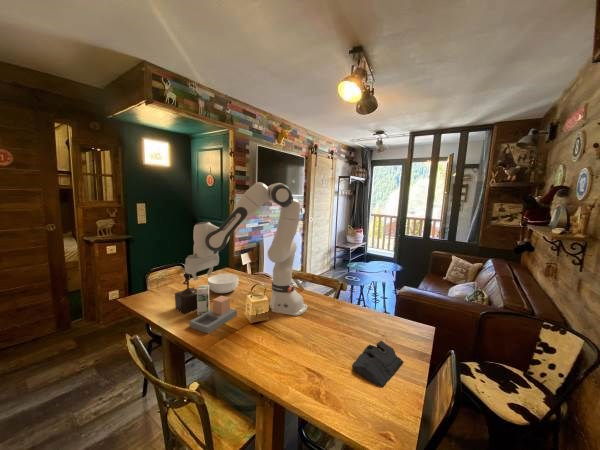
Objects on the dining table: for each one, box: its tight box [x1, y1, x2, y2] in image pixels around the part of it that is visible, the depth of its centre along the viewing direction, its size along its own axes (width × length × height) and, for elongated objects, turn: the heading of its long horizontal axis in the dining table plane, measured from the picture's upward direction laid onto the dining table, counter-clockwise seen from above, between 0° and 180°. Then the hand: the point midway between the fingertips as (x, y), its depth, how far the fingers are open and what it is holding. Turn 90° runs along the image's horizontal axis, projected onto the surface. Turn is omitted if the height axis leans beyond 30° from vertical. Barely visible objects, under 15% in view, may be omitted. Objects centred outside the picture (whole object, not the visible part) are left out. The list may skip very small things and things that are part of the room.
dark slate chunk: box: [351, 340, 405, 388], centre depth 97 cm, size 15×22×5 cm
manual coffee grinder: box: [174, 272, 197, 315], centre depth 138 cm, size 16×11×18 cm
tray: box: [189, 295, 238, 334], centre depth 124 cm, size 20×12×10 cm, turn 154°
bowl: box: [207, 273, 239, 294], centre depth 163 cm, size 20×20×8 cm
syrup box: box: [196, 284, 210, 316], centre depth 133 cm, size 6×6×14 cm
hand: (202, 277), depth 131 cm, fingers open, 8 cm apart
